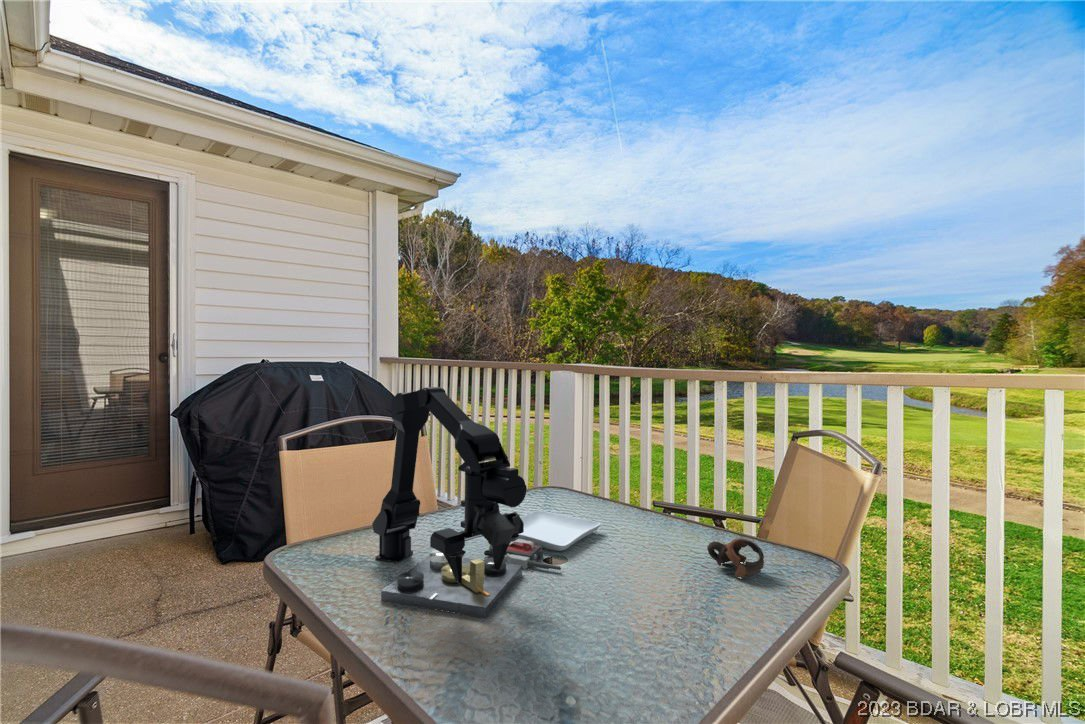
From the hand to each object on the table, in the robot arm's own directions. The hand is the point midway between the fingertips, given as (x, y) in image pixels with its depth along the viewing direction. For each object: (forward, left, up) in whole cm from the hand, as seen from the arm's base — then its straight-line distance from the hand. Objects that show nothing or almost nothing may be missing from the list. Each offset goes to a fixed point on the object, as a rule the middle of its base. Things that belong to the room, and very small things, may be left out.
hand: (478, 575), depth 101 cm
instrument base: (-7, +4, -5) cm, 9 cm away
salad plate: (+3, +39, -5) cm, 40 cm away
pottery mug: (+49, +31, -5) cm, 58 cm away
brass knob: (-4, +2, -3) cm, 6 cm away
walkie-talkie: (+2, +22, -5) cm, 23 cm away
